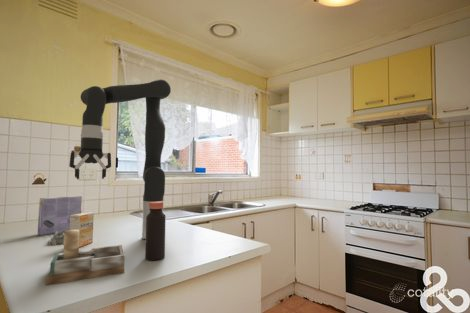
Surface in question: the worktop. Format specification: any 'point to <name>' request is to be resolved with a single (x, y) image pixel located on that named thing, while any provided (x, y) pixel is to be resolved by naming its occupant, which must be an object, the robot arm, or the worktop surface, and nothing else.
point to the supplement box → (83, 227)
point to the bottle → (155, 232)
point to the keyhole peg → (71, 244)
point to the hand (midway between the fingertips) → (90, 178)
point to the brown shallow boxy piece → (87, 265)
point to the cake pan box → (57, 213)
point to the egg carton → (57, 238)
